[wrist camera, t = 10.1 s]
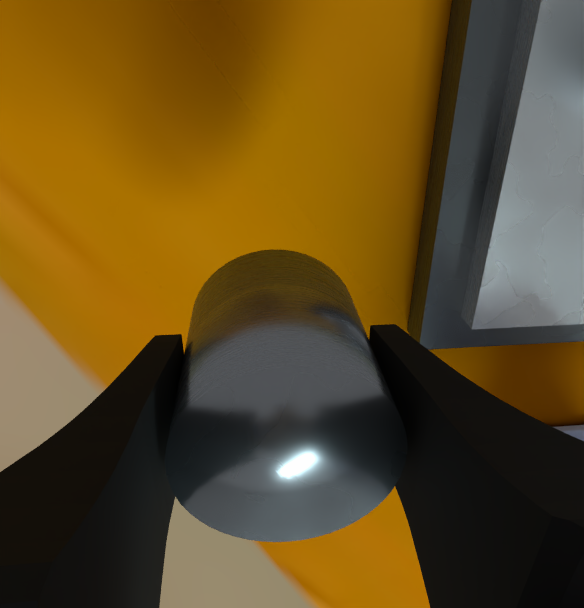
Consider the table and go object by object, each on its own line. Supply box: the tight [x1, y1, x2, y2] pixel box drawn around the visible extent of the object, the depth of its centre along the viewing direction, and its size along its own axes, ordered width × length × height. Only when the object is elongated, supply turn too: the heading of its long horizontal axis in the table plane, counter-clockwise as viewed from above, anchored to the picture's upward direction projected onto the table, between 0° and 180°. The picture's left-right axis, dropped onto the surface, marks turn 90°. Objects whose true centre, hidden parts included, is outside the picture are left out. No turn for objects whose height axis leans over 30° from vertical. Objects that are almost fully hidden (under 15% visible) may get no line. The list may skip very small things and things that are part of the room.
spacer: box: [165, 250, 408, 542], centre depth 11 cm, size 4×4×5 cm
